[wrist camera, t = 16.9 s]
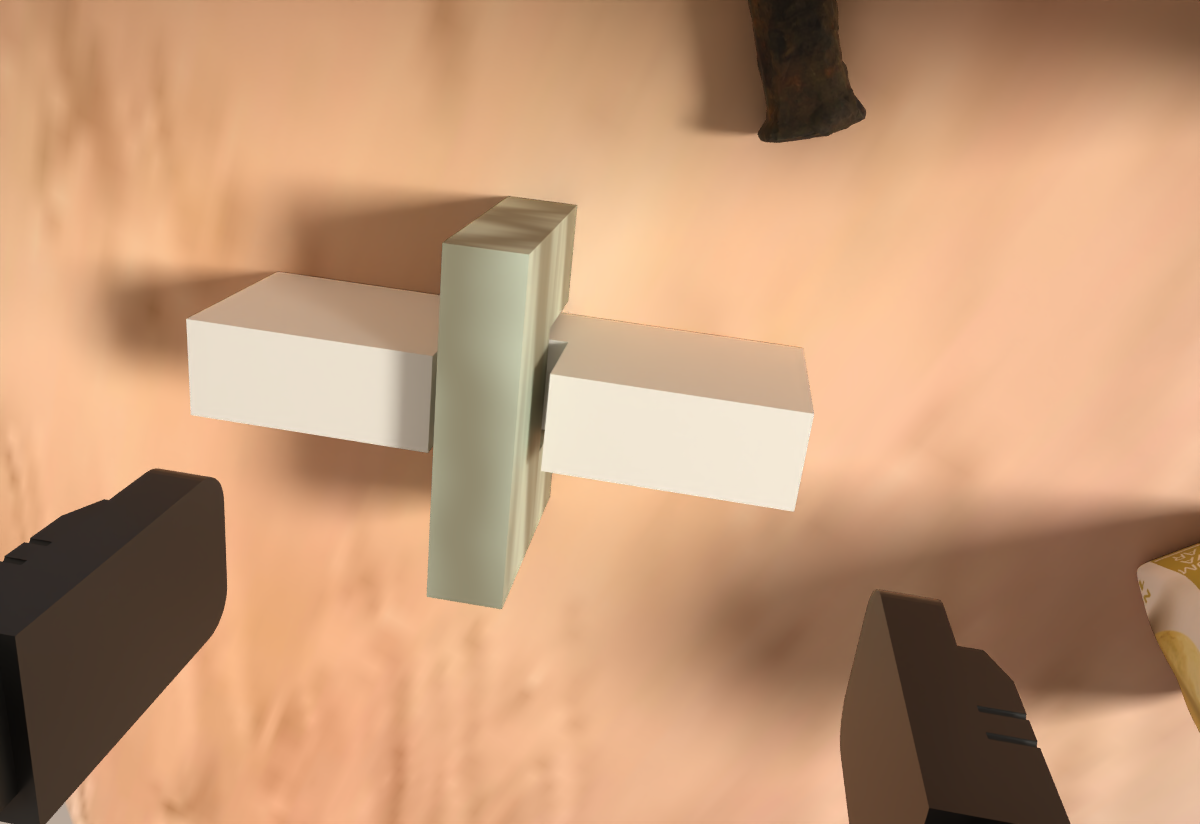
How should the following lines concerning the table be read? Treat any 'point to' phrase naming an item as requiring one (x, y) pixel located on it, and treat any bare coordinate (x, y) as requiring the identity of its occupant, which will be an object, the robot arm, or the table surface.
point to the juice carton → (1176, 616)
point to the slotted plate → (494, 394)
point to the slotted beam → (571, 400)
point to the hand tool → (802, 70)
